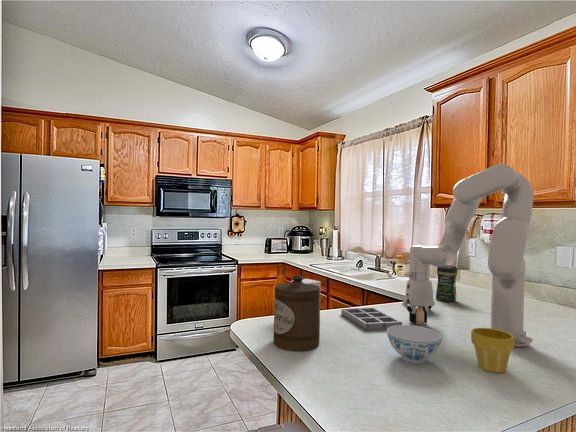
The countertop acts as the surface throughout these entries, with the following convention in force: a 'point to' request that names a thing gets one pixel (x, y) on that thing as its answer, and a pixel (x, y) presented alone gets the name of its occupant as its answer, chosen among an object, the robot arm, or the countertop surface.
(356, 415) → the countertop surface
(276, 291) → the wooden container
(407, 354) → the chinaware
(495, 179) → the robot arm
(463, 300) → the countertop surface
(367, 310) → the grey compartment tray
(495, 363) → the plant pot
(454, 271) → the coffee jar
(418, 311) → the egg
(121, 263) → the countertop surface
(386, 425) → the countertop surface
